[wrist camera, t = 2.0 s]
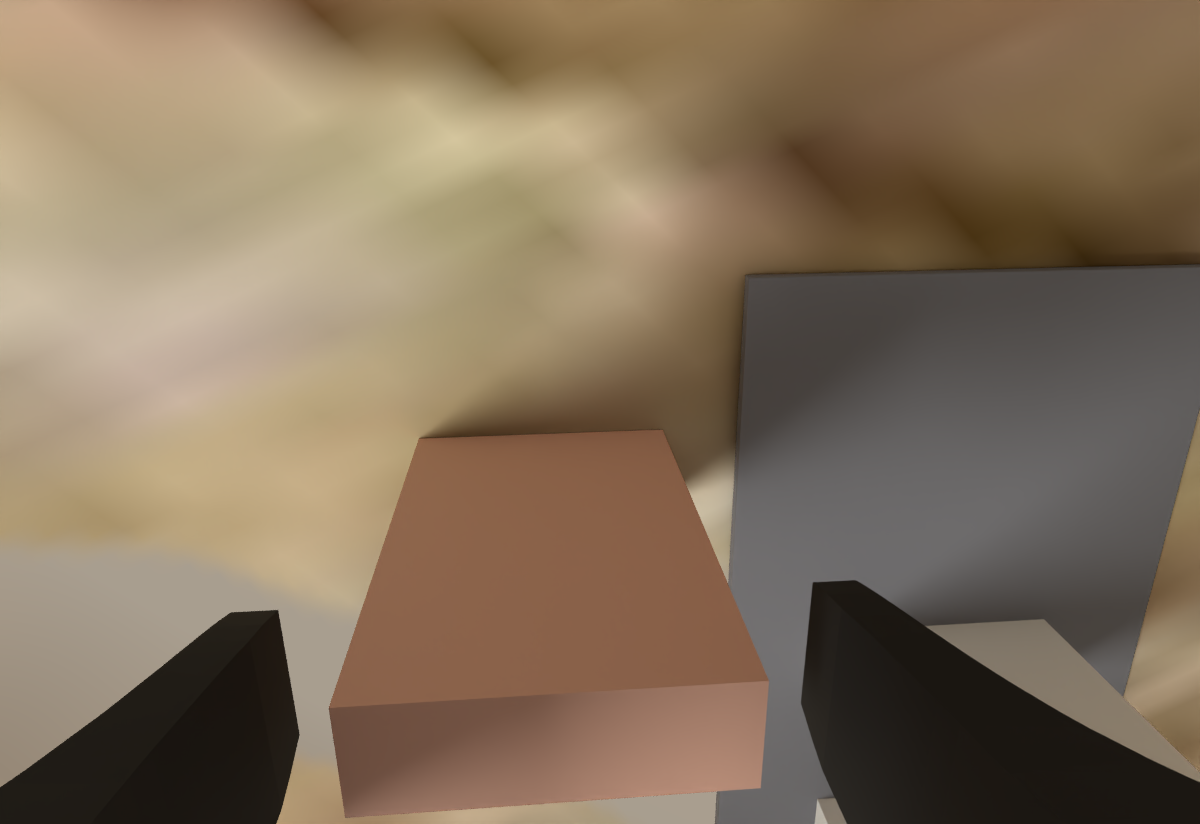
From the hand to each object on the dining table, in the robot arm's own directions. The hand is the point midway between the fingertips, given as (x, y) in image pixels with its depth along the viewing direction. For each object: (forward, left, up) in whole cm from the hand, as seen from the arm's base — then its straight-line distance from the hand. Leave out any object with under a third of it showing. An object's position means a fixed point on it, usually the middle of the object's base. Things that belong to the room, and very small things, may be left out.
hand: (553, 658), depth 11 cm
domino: (0, 0, -6) cm, 6 cm away
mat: (+5, -13, -6) cm, 15 cm away
